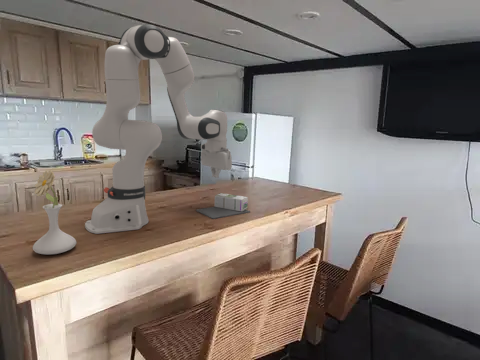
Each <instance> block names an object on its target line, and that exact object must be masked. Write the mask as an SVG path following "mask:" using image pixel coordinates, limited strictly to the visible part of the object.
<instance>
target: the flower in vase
mask: <svg viewBox="0 0 480 360" xmlns="http://www.w3.org/2000/svg"><path fill="white" fill-rule="evenodd" d="M55 178H56V175H55V172H53V170H52V169H49V170H47V169H46V170H45V171H44V172H43V173H42V174H40V175H39V176H38V179H37V183H36V184H35V185H34V188H35V190H34V195H36V196H37V198H38V197H42V196H45V199H47V200H48V201H50V202H52V203H49V204H45V205H43V206H42V209H43V210H44V211H45V212H46V215H47V216H48V223H49V225H48V226H49V228H48V231H47V232H46V233H45V234H44V235H42V236H41V237H40V238H39V239H37V240H36V241H35V243H34V244H33V245H32V250H33V252H35V253H36V254H39V255H40V254H41V255H57V254H61V253H62V254H63V253H65V252H67V251H70V250H72V249H74V247H75V246H76V245H77V240H76V238H75V237H73V236H72V235H70V234H69V233H66V232H64V231H63V230H61V229H60V226H59V214H60V210H61V209H62V207H63V204H61V203H59V202H58V200H59V196H56V193H55V190H54V189H53V187H52V186H53V185H54V181H55ZM50 190H51V192H52V194H53V196H54V197H53V196H52V195H51V194H50V193H49V191H50Z"/></svg>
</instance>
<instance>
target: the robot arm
mask: <svg viewBox="0 0 480 360" xmlns="http://www.w3.org/2000/svg"><path fill="white" fill-rule="evenodd" d="M142 60H144V61H147V60H155V61H156V63H157V64H158V65H159V67H160V69H161V72H162V73H163V77H164V79H165V81H166V90H167V96H168V98H169V102H170V104H171V107H172V112H173V113H174V116H175V117H174V118H175V119H176V120H175V121H176V127H177V128H176V129H177V132H178V134H179V136H180V137H182V138H183V139H185V140H205V141H206V142H205V143H202V144H200V149H201V151H200V163H201V165H202V166H205V167H210V172H211V177H212V178H214V179H218V178H220V173H221V170H222V171H230V170H232V168H233V166H232V165H233V161H232V154H231V151H230V149H229V148H227V145H228V143H227V141H228V139H227V132H228V117H227V113H226V112H225V111H223V110H220V109H215V108H214V109H213V108H212V109H210V110H209V111H208V112H207V113H205V114H202V115H201V116H193V115H192V114H191V113H190V111H189V108H188V105H187V102H186V98H185V94H186V92H187V91H188V90H189V89H191V87H192V86H193V84H194V82H195V77H196V76H195V73H194V69H193V66H192V64H191V62H190V59H189V56H188V55H187V53H186V51H185V49H184V47H183V45H182V44H181V42H180V40H178V39H177V38H176V37H173V36H167V35H166V34H165V32H164V31H162V30H161V28H159V27H158V26H156V25H152V24H149V23H147V24H138V25H137V24H136V25H134V26H132V27H129V28H127V29H126V30H124V32H123V33H122V34H121V37H120V40H119V41H118V43H117V44H114V45H110V46H109V47H107V49H106V50H105V55H104V79H105V81H104V82H105V91H106V104H105V105H106V106H105V108H104V112H103V114H102V116H101V117H100V119H99V120H97V121H96V122H95V124H94V125H93V128H92V131H91V133H92V139H93V141H94V142H95V143H96V145H97V146H100V147H103V148H106V149H110V150H112V149H113V150H122V151H123V150H125V154H124V157H123V159H120V160H118V161H116V162H115V163H114V165H113V167H112V187H110V188H109V187H107V186H106V187H104V188H103V192H104V193H105V194H107V197H106V198H105V199H104V200H103V201H101V202H100V203H98V205H96V206H95V207H94V208H93V210H92V212H91V219H89V220H86V221H85V223H84V228H85V229H86V230H87V231H88V232H89V233H92V234H95V235H96V234H105V233H106V234H107V233H116V232H118V233H119V232H126V231H134V230H136V231H137V230H141V229H142V227H143V226H145V225H147V224H148V223H149V217H148V214H147V209H146V201H145V200H146V186H145V166H146V163H147V160H148V158H149V157H150V156H151V154H152V153H153V152H155V150H157V149H158V148H159V147H160V145H161V143H162V140H163V133H162V130H161V127H159V125H158V124H157V123H155V122H152V121H151V122H150V121H149V120H148V121H147V120H138V119H129V113H130V111H131V110H133V109H134V108H136V107H137V106H139V104H140V103H141V91H140V89H141V88H140V77H139V66H140V63H141V61H142Z"/></svg>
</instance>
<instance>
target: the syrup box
mask: <svg viewBox="0 0 480 360" xmlns="http://www.w3.org/2000/svg"><path fill="white" fill-rule="evenodd" d="M248 206H249V196H242V195H235V194H231V193H223V192H220V193H218V194H214V207H219V208H224V209H230V210H236V211H244V210H245V209H246V210H248V208H249V207H248Z"/></svg>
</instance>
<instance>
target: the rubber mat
mask: <svg viewBox="0 0 480 360" xmlns="http://www.w3.org/2000/svg"><path fill="white" fill-rule="evenodd" d="M195 211H196V212H197V213H200V214H201V215H204V216H205V217H206V218H207V217H208V218H210V219H211V220H216V219H221V218H222V219H223V218H226V217H232V216H233V217H234V216H237V215H242V214H243V215H244V214H250V213H251V210H248V209H245V210H244V211H236V210H230V209H224V208H219V207H215V206H210V207H204V208H198V209H197V208H196V209H195Z"/></svg>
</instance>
